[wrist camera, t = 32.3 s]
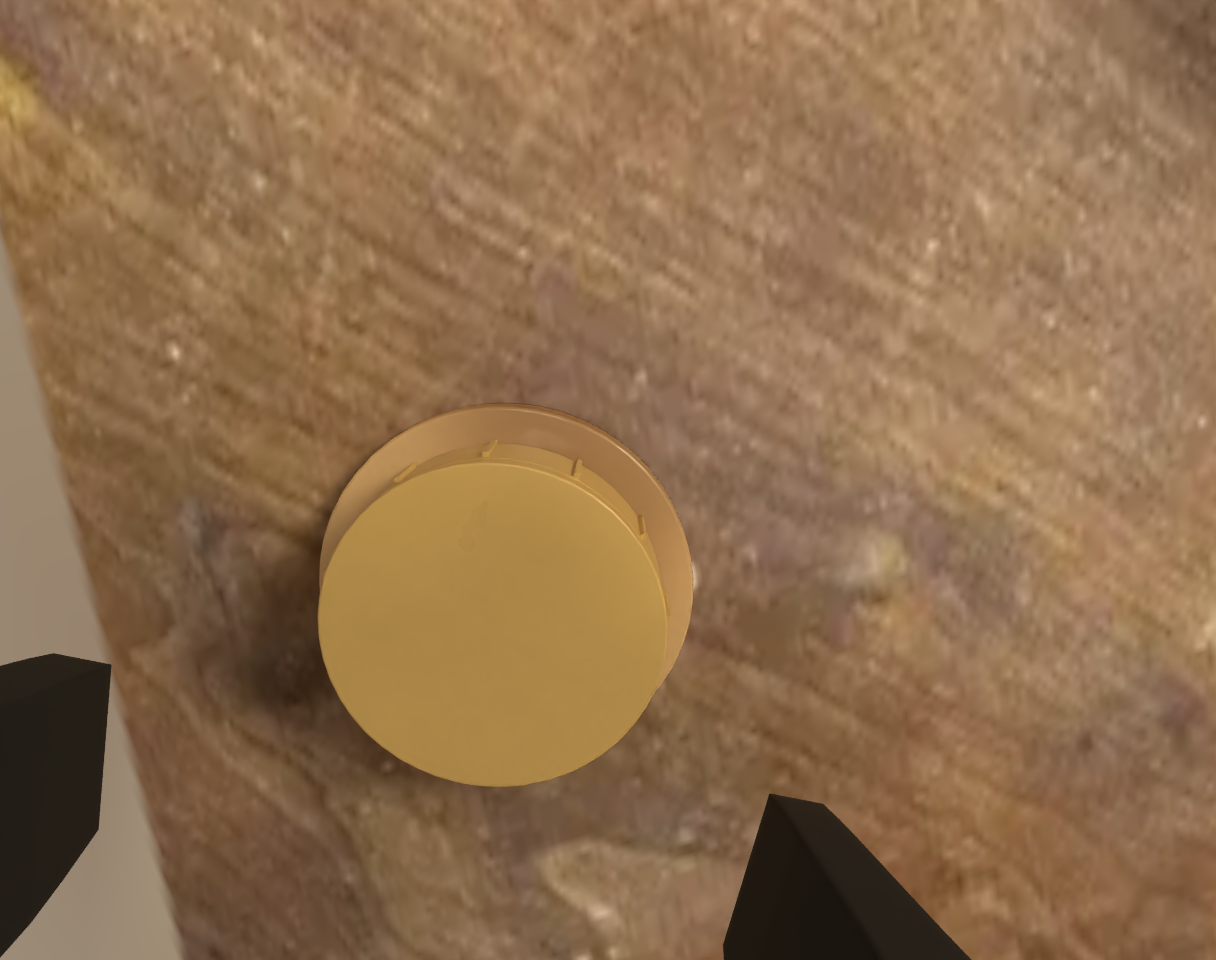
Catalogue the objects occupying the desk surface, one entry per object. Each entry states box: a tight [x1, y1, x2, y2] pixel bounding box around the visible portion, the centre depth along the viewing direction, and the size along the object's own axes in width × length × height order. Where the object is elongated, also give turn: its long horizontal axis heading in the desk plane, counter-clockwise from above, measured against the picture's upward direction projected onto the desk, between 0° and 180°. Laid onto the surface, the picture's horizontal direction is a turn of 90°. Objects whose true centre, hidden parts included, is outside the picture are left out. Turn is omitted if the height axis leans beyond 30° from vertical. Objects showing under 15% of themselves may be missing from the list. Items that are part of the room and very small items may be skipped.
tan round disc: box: [319, 403, 693, 694], centre depth 15 cm, size 7×7×1 cm
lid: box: [318, 439, 671, 787], centre depth 14 cm, size 6×6×2 cm
